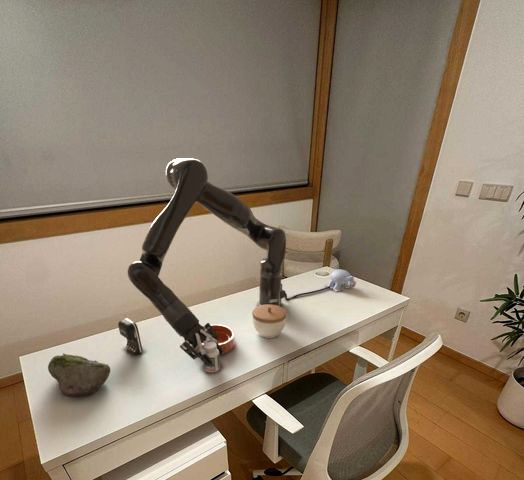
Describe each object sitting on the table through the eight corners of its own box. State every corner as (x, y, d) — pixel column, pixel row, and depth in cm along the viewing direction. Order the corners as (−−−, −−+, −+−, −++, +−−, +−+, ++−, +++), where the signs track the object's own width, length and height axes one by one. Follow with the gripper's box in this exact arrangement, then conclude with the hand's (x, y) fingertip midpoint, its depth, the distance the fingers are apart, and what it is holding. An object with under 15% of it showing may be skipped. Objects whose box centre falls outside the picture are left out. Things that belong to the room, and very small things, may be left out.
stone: (120, 386, 95) (112, 359, 89) (69, 409, 87) (56, 380, 81) (96, 359, 106) (88, 333, 100) (49, 377, 98) (37, 350, 92)
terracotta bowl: (217, 330, 123) (216, 320, 120) (242, 345, 115) (242, 334, 112) (186, 345, 114) (184, 334, 112) (211, 361, 106) (210, 350, 104)
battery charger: (123, 349, 111) (115, 320, 105) (133, 344, 114) (125, 316, 107) (133, 357, 108) (126, 327, 101) (143, 352, 110) (137, 323, 104)
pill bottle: (213, 361, 107) (212, 338, 102) (223, 368, 103) (222, 345, 98) (200, 367, 103) (198, 344, 98) (210, 374, 100) (208, 351, 95)
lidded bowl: (247, 338, 119) (246, 311, 113) (259, 322, 129) (259, 297, 123) (279, 344, 116) (280, 317, 109) (289, 328, 125) (291, 302, 119)
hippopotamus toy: (344, 295, 152) (348, 276, 147) (322, 285, 162) (325, 267, 157) (360, 291, 157) (363, 272, 152) (337, 281, 167) (340, 263, 162)
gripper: (171, 322, 90) (211, 366, 93) (199, 302, 101) (234, 342, 104) (159, 334, 94) (197, 376, 97) (187, 313, 106) (220, 352, 108)
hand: (216, 358), depth 100 cm, fingers open, 6 cm apart
